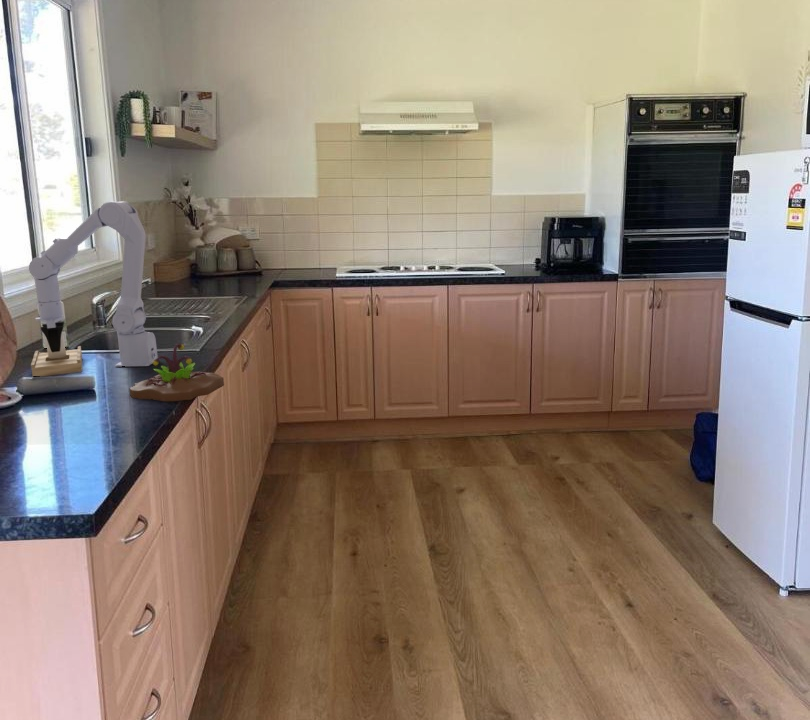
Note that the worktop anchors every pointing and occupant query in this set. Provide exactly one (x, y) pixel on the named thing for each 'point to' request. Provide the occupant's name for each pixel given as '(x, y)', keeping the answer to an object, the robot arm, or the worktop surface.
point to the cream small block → (57, 354)
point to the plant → (176, 381)
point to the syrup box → (62, 330)
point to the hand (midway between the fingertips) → (56, 349)
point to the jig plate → (57, 363)
